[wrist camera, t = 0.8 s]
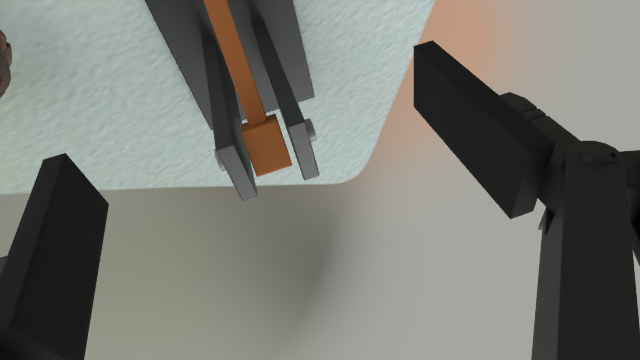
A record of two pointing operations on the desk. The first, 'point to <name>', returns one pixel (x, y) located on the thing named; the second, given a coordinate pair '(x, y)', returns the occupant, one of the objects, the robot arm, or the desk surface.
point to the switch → (249, 97)
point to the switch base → (266, 67)
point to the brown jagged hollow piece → (4, 63)
